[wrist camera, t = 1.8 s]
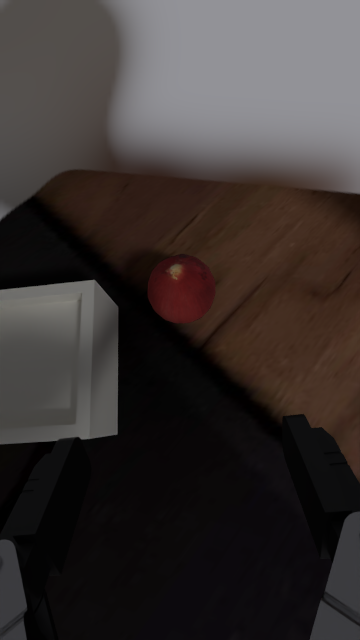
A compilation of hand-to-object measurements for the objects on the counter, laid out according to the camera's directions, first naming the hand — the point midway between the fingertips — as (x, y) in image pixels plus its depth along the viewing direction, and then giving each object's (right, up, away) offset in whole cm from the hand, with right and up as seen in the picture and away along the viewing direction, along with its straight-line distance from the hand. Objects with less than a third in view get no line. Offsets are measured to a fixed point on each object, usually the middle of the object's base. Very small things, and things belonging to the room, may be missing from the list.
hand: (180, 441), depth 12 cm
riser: (-12, 0, +17) cm, 21 cm away
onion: (+1, +6, +18) cm, 19 cm away
